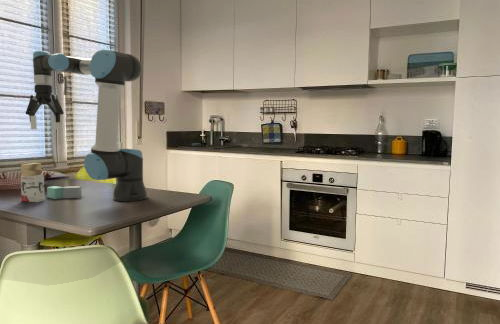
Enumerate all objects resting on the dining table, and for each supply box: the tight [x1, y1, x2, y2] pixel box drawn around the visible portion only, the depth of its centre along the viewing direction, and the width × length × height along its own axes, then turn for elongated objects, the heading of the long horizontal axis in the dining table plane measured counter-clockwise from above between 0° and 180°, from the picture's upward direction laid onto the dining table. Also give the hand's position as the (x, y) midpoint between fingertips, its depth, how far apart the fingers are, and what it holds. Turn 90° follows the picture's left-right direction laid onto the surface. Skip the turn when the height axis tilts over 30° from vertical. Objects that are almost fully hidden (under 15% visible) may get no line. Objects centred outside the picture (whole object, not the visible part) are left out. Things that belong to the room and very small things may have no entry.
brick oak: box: [20, 162, 43, 176], centre depth 177 cm, size 7×4×5 cm, turn 162°
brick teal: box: [46, 185, 64, 200], centre depth 187 cm, size 7×4×5 cm, turn 53°
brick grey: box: [62, 185, 82, 199], centre depth 188 cm, size 7×4×5 cm, turn 98°
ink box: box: [20, 174, 46, 203], centre depth 178 cm, size 9×5×12 cm, turn 76°
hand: (45, 129), depth 193 cm, fingers open, 13 cm apart
